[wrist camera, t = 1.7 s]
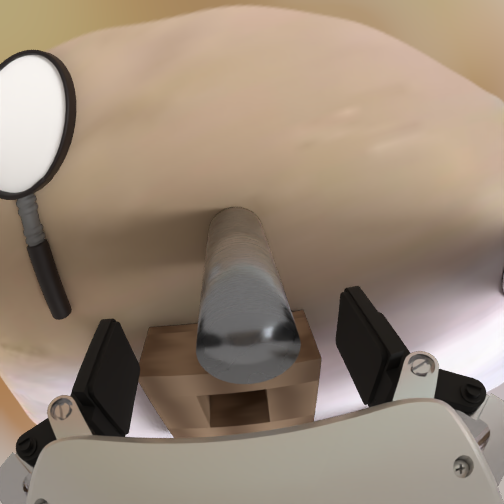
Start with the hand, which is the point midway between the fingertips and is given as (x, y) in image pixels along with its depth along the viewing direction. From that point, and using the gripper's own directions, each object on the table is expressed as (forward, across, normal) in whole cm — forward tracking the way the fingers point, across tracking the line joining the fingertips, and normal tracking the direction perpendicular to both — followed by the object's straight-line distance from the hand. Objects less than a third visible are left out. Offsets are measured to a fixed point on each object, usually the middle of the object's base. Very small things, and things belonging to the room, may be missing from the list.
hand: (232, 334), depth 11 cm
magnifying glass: (+12, +16, -6) cm, 21 cm away
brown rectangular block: (+11, +1, +18) cm, 21 cm away
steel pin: (+11, -1, 0) cm, 11 cm away
